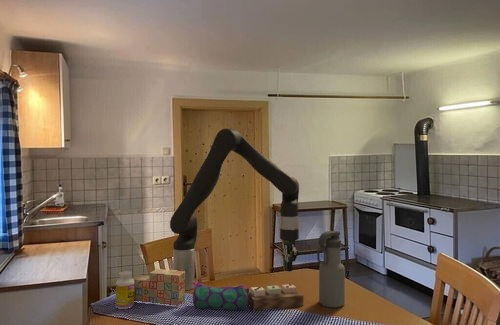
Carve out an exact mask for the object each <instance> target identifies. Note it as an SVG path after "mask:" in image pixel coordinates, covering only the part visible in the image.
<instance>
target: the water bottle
mask: <svg viewBox="0 0 500 325" xmlns="http://www.w3.org/2000/svg"><path fill="white" fill-rule="evenodd" d="M340 235H341V231H338V230H329V231H324V232H322V233H321V235H320V236H319V238H318V245H319V246H320V247H319V249H317V251H316V252H317V255H316V260H317V262H319V263H320V264H319V268H318V269H319V270H318V273H319V274H318V277H319V278H318V280H319V281H318V302H319V303H320V305H322V306H323V307H326V308H332V309H333V308H341V307H343V306H344V305H345V302H346V301H345V298H346V296H345V292H346V290H345V289H346V288H345V287H346V286H345V285H346V283H345V282H346V280H345V279H346V278H345V276H346V274H345V272H346V268H345V265H344V264H343V263H341V260H342V259H341V256H342V253H341V249H342V240H341V239H340ZM320 252H322V253H323V261H322V260H321V259H320Z"/></svg>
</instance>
